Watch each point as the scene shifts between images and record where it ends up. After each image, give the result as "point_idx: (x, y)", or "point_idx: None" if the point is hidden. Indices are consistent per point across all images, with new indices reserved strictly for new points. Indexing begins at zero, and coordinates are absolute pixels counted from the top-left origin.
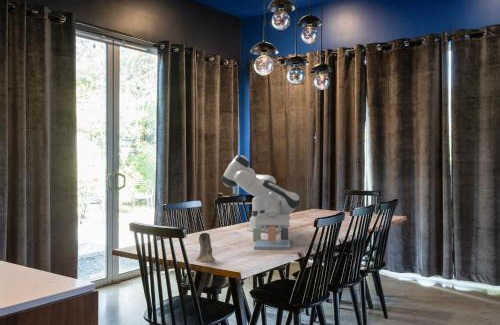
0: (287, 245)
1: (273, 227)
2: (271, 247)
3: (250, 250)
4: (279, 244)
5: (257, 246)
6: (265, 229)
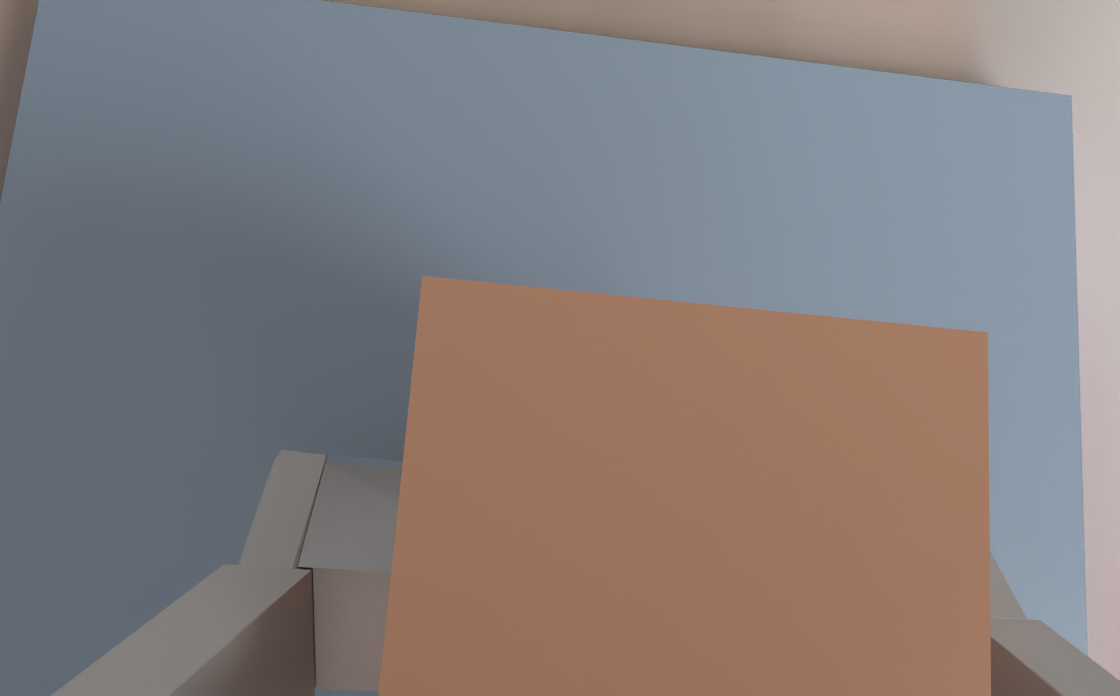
0: (95, 141)
1: (599, 294)
2: (599, 48)
3: (1101, 23)
4: (336, 316)
5: (987, 108)
6: (1056, 642)
